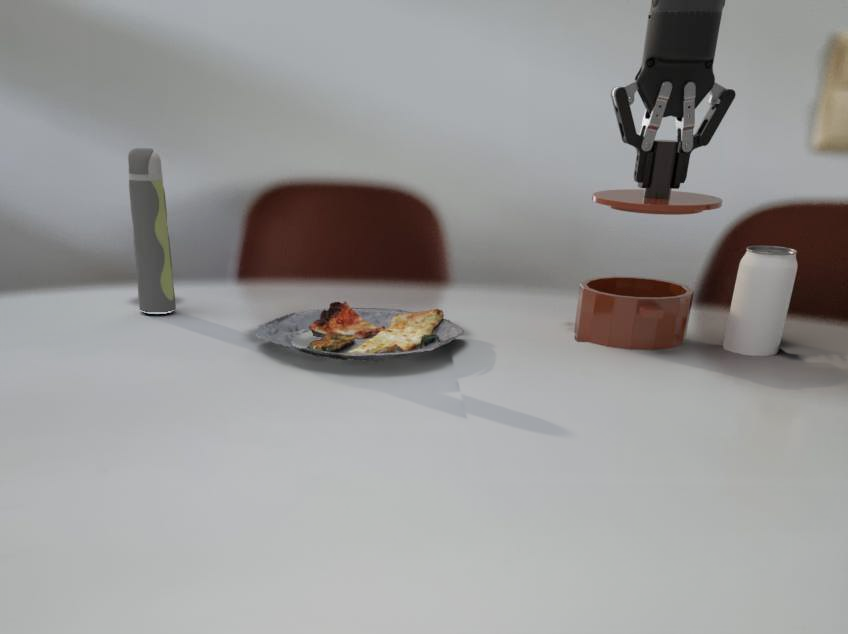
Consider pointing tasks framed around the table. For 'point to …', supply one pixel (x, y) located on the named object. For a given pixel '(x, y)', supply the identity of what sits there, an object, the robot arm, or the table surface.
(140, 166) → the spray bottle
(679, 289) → the dish
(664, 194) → the cover
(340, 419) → the table surface
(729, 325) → the can
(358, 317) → the food plate
